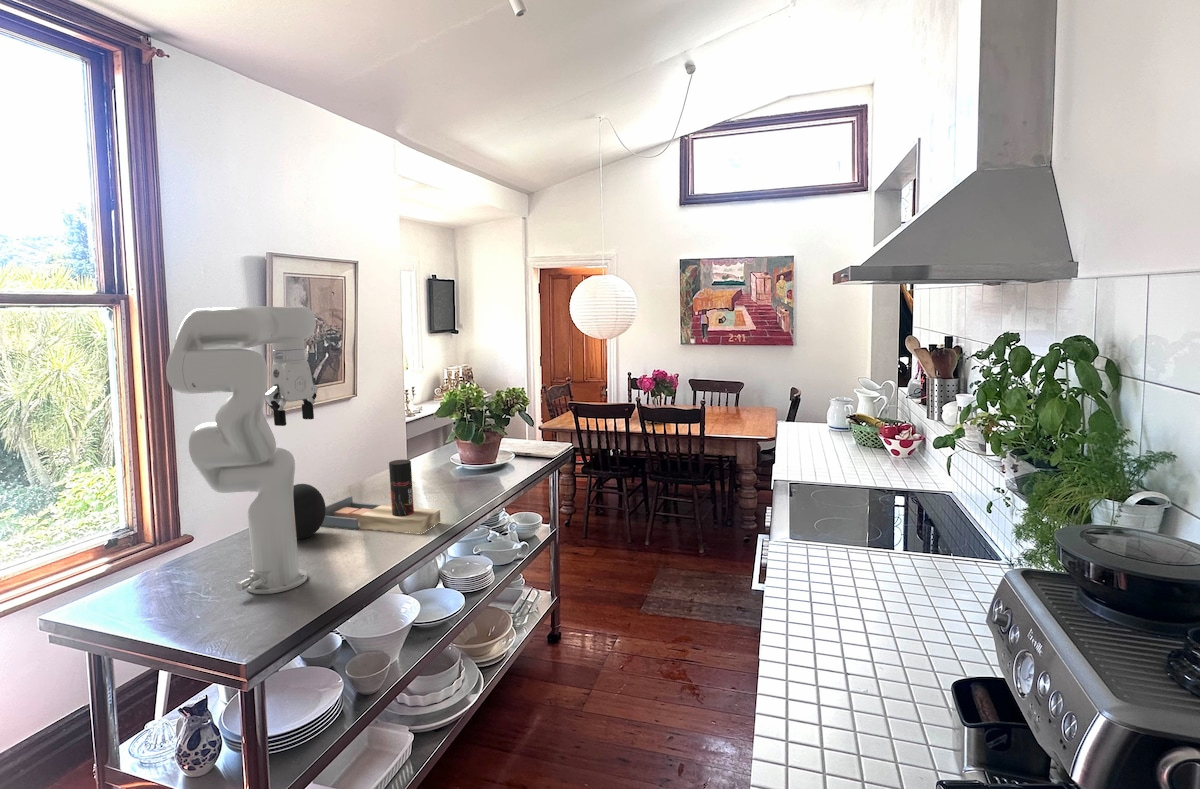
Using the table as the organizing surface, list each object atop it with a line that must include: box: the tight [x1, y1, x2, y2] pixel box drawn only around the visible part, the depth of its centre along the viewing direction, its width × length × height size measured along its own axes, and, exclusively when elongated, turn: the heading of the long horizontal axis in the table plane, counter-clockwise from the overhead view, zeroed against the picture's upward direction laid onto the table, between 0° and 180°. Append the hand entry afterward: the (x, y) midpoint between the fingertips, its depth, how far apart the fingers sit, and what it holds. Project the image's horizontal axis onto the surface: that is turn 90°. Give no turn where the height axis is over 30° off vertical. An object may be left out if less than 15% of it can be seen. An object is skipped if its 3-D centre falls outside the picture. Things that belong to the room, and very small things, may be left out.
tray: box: [321, 495, 381, 530], centre depth 195 cm, size 14×13×5 cm
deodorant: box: [388, 459, 415, 517], centre depth 187 cm, size 6×6×15 cm
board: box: [359, 504, 442, 534], centre depth 189 cm, size 10×20×4 cm, turn 72°
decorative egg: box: [293, 483, 327, 539], centre depth 181 cm, size 12×12×15 cm
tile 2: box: [351, 508, 372, 522], centre depth 194 cm, size 5×5×2 cm
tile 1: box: [334, 507, 359, 518], centre depth 196 cm, size 5×5×2 cm
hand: (294, 422), depth 171 cm, fingers open, 9 cm apart
